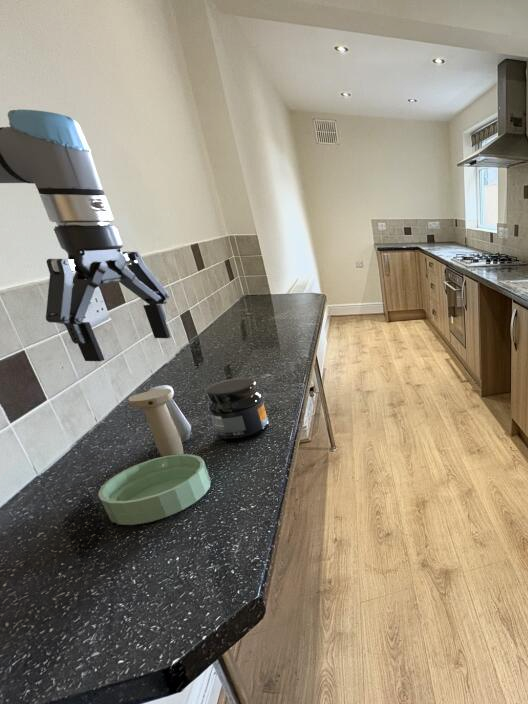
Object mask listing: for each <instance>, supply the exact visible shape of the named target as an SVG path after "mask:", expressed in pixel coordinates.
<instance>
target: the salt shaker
mask: <svg viewBox="0 0 528 704" xmlns="http://www.w3.org/2000/svg"><path fill="white" fill-rule="evenodd" d="M160 389H170V390H171V391H172V394H173V396H174V395H175V392H174V388H173V387H172V386H170V385H167V384H164V385H157V386H154V387H151V388H149V389H148V390H147V392H148V391H153V390H160ZM166 406H167V409H168V411H169V413H170V416H171V418H172V420H173V422H174V424H175V426H176V428H177V431H178V433H179V436H180V438H181V442H182V444H183V443H185V442H186V441H188V440H190V438H191V431H192V426H191V424H190V422H189V421H188V420H187V418H186V417H185V415H184V414H183V412H182V411H181V409H180V408H179V406H178V405H177V403H176V402H175V400H174V399H173V398H172V399H171V400H170V401H168V402H167V403H166Z"/></svg>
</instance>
